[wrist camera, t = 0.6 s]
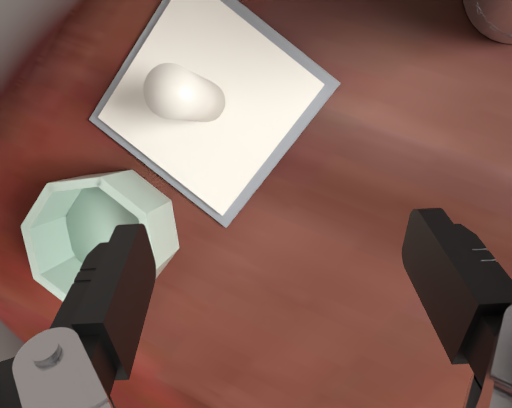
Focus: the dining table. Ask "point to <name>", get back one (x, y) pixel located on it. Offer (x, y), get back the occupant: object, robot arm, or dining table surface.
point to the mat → (278, 152)
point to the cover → (209, 99)
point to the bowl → (93, 223)
